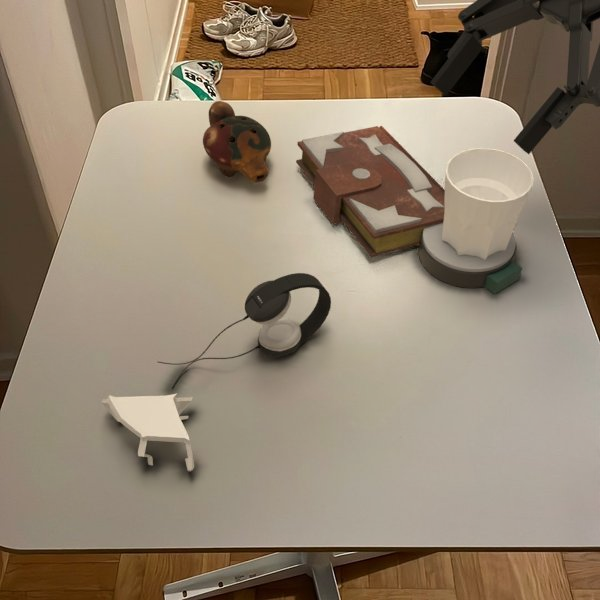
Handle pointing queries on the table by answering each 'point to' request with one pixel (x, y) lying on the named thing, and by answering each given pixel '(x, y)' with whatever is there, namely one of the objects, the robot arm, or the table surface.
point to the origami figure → (153, 420)
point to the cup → (483, 200)
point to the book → (372, 188)
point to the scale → (467, 263)
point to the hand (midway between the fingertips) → (477, 117)
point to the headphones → (280, 315)
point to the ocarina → (236, 143)
